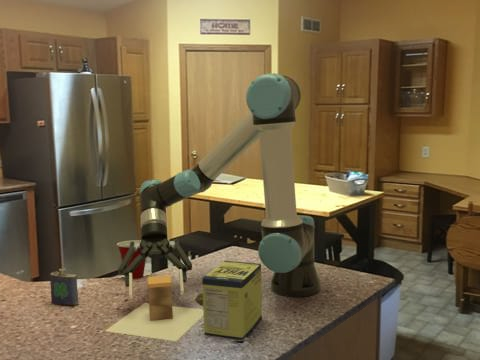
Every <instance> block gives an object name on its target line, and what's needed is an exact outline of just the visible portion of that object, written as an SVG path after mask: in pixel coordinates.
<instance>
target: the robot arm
mask: <svg viewBox="0 0 480 360" xmlns="http://www.w3.org/2000/svg"><path fill="white" fill-rule="evenodd" d="M301 98H302V95H301V89H300V86H299V84H298V83H297V82H296V81H295V80H294V79H293V78H291V77H289V76H287V75H281V74H278V73H265V74H261V75H260V76H257V77H255V78H254V79H253V80H252V81H251V83H250V84H249V86H248V87H247V90H246V96H245V99H246V100H245V101H246V105H247V108H248V109H249V111H250V112H249V113H247V115H246V116H244V117H243V119H242V120H240V121H239V122H238V124H236V125H235V126H234V127H233V128H232V129H231V130H230V131H229V132H228V133H227V134H226V135H225V136H224V137H223V138H222V139H221V140H220V141H219V142H218V143H217V144H216V145H215V146H214V147H213V148H212V149H211V150H210V151H209V152H208V153H207V154H206V155H205V156H204V157H203V158H202V159H201V160H200V161H199V162H198V163H197V164H196V165H195V166H194V167H193V168H192V169H186V170H183V171H181V172H178V173H177V174H175V175H173V176H171V177H169V178H168V179H166V180H164V181H160V180H159V179H151V180H146V181H144V182H143V183H142V184H141V185H140V188H139V204H140V205H139V206H140V240H141V242H140V243H134V242H133V241H132V240H130V241H131V242H130V248H129V250H128V252H127V254H126V255H125V257H124V259H123V261H122V260H121V263H120V265H119V266H118V268H117V271H118V275H119V276H124V285H125V287H126V288H128V291H129V293H128V294H129V295H128V296H129V300H133V299H134V296H133V295H134V293H133V292H134V291H133V290H134V287H133V285H134V284H133V282H134V281H133V280H134V279H132V273H133V271H134V270H135V269H136V268H137V267H138V266H139V265H140V263H141V262H142V261H143V260H145V259H147V258H149V259H152V258H153V259H154V258H161V257H164V258H165V259H166V260H168V261H169V262H170V263H171V264H172V265H174V267H175V268H177V269H178V270H179V271H178V276H179V287H180V288H179V289H180V290H179V293H180V296H184V295H185V293H184V291H185V289H184V283H187V282H188V277H187V272H188V271H192V270H193V263H192V262H191V259H189V257H188V256H187V254H186V253H185V251H184V250H183V248H182V246H181V245H180V242H179V241H180V240H179V239H178V238H174V240H170V241H169V239H168V227H167V226H168V225H167V208H168V207H170V206H172V205H175V204H178V203H179V202H182V201H183V200H186V199H188V198H190V197H193V196H195V195H198V194H201V193H204V192H206V191H207V190H208V189H210V188H211V186H212V184H213V183H214V182H215V180H217V178H219V176H221V175H222V174H223V173H224V172H225V171H226V170H227V169H228V168H229V167H230V166H231V165H232V164H233V163H234V162H235V161H237V160H238V159H239V158H240V156H242V155H243V154H244V153H245V152H247V150H248V149H249V148H250V147H251V146H252V145H254V143H256V141H258V139H259V144H260V155H261V170H262V182H263V184H262V185H263V195H264V209H265V218H264V219H263V220H262V221H261V224H260V225H261V238H262V239H261V240H260V242H259V245H258V250H257V251H258V252H257V254H258V257H259V260H260V261H261V263H262V264H263V266H265V268H267V269H268V270H270V271H272V272H273V274H272V277H271V280H270V289H271V291H272V292H273V293H275V294H277V295H279V296H282V297H283V296H284V297H291V298H293V297H295V298H301V297H308V296H313V295H315V294H318V293H319V292H320V290H321V281H320V278H319V274H318V271H317V269H316V266H315V227H316V226H315V220H314V218H313V217H312V216H310V215H302V214H298V213H297V200H296V188H295V187H296V185H295V171H294V157H293V144H292V131H291V130H292V128H293V126H295V124H296V121H297V120H296V119H297V118H296V110H297V108H298V107H299V105H300V104H301ZM170 247H172V249H174V250H175V253H177V255H178V256H179V258H178V257H176V255H175V254H173V253H172V252H171V251H170V249H169V248H170ZM138 248H140V249H141V250H142V251H141V252H140V254H139V255H138V256H137V257H136V258H135V260H134V261H133V262H132V263H131V264H130V265H129V266H128V264H129V262H130V260H131V258H132V256H133V254H134V251H137V249H138ZM127 266H128V267H127ZM126 267H127V269H126Z"/></svg>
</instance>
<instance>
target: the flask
mask: <svg viewBox="0 0 480 360" xmlns="http://www.w3.org/2000/svg"><path fill="white" fill-rule="evenodd" d="M66 270H67V269H66V268H59V269H58V271H53V272H51V273H50V274H49V279H50V280H49V281H50V297H51V301H50V303H51V304H52V305H57V306H64V307H67V306H68V307H77V306H78V305H79V295H78V294H79V293H78V292H79V291H78V290H79V289H78V276H77V274H74V273H73V274H71V273H69V274H68V273H66Z"/></svg>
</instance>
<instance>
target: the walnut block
mask: <svg viewBox="0 0 480 360" xmlns="http://www.w3.org/2000/svg"><path fill="white" fill-rule="evenodd" d="M147 286H148V287H147V289H148V303H149V312H150V321H154V320H165V319H173V310H172V306H173V292H172V289H173V287H172V278H171V275H156V276H148V277H147Z"/></svg>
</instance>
